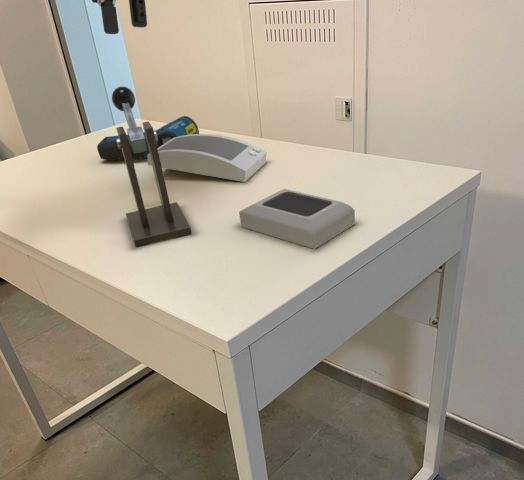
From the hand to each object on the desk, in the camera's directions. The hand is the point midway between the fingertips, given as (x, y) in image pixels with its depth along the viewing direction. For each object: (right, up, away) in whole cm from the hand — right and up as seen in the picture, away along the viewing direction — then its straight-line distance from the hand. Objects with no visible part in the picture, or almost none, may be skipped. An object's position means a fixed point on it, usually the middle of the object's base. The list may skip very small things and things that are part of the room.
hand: (125, 30), depth 83 cm
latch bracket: (+4, -28, +7) cm, 29 cm away
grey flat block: (+26, -30, +1) cm, 40 cm away
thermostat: (+10, -13, +27) cm, 32 cm away
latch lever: (0, -14, +3) cm, 14 cm away
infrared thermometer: (-4, -4, +41) cm, 42 cm away
